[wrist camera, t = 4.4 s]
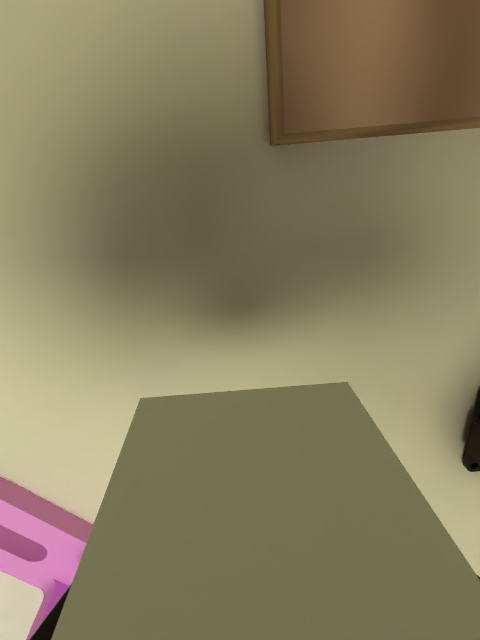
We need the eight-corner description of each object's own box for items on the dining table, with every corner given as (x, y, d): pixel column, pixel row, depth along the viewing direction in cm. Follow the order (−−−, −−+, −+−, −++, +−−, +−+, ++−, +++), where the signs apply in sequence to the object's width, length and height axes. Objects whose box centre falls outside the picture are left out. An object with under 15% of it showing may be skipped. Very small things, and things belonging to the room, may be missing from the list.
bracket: (144, 550, 25) (118, 680, 18) (98, 590, 26) (58, 725, 19) (-27, 459, 21) (-138, 581, 14) (-71, 510, 22) (-192, 645, 16)
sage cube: (347, 382, 8) (615, 781, 3) (336, 527, 10) (484, 947, 5) (140, 398, 8) (-32, 861, 3) (167, 543, 10) (102, 1001, 4)
